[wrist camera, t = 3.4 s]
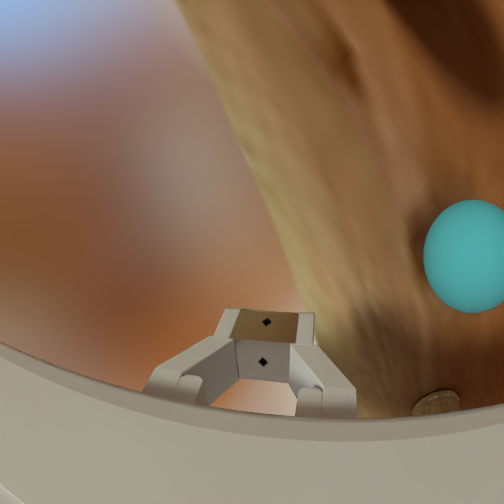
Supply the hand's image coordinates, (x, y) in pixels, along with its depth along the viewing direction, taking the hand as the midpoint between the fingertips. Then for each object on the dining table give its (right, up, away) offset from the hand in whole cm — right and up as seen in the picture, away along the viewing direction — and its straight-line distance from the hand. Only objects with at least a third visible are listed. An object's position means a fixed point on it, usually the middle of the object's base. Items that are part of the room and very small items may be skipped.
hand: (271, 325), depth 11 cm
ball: (+10, +2, +2) cm, 10 cm away
